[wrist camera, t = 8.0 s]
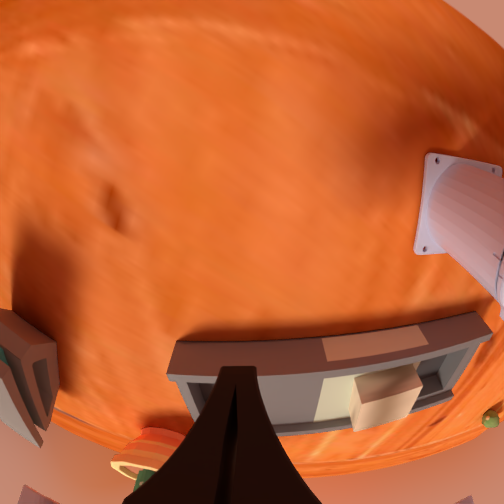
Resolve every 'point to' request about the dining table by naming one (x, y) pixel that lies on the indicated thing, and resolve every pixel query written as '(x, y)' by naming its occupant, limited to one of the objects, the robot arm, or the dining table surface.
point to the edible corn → (490, 419)
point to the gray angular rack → (26, 376)
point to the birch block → (383, 396)
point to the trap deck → (331, 369)
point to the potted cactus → (146, 454)
